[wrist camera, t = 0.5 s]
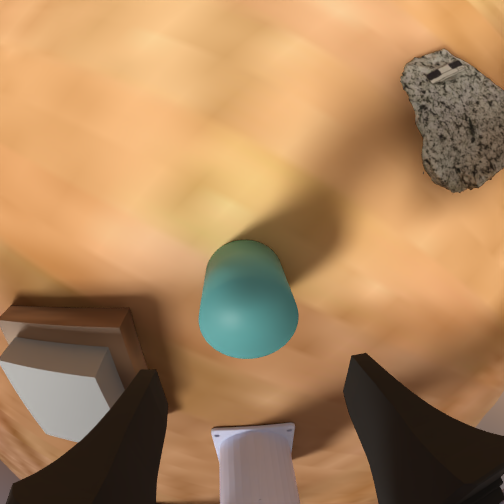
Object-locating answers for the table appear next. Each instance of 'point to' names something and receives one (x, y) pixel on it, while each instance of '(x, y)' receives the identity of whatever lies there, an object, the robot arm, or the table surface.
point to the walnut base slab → (80, 331)
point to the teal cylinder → (246, 301)
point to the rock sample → (456, 120)
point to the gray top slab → (63, 384)
